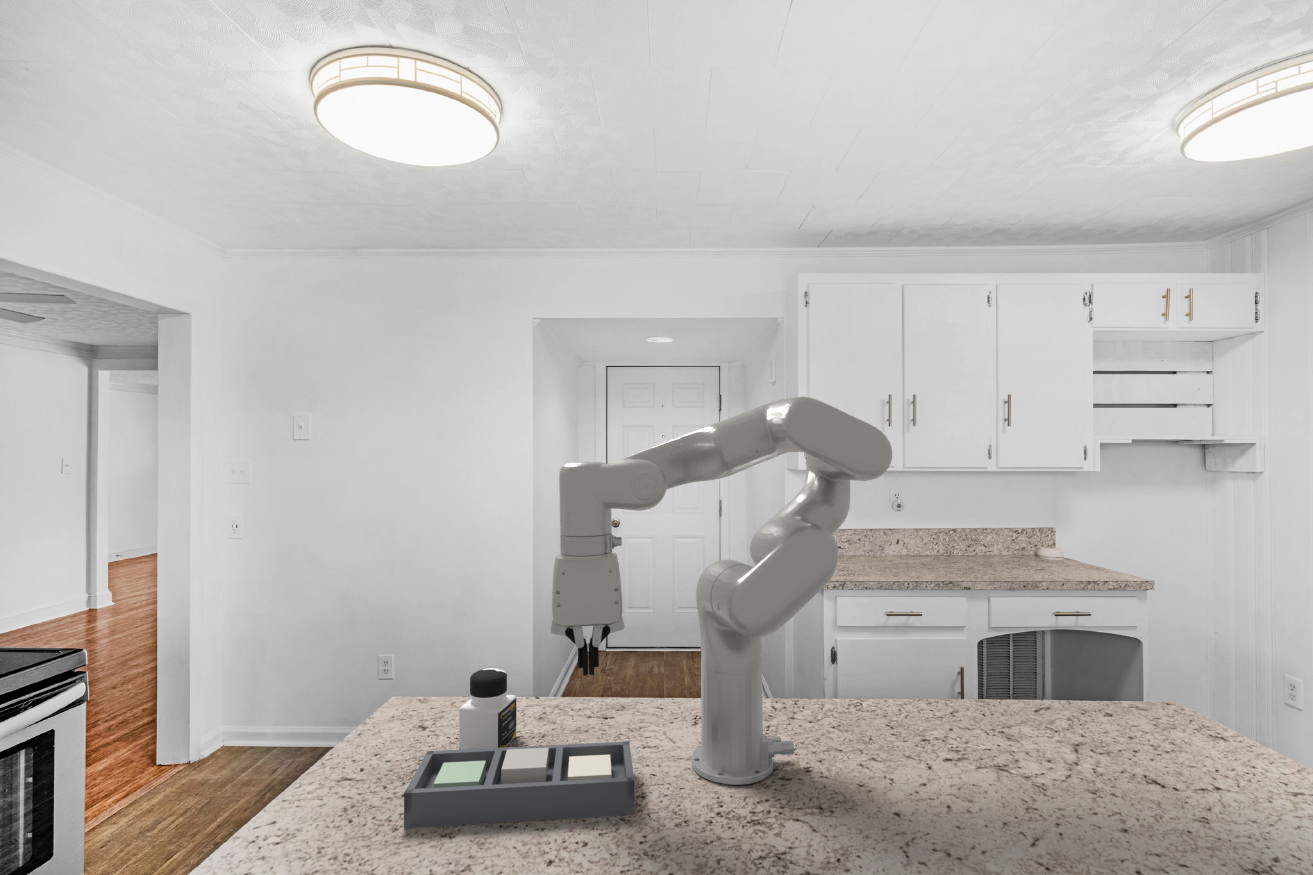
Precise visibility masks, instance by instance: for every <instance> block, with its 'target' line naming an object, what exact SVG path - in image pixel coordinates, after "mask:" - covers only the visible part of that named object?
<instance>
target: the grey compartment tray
mask: <svg viewBox="0 0 1313 875" xmlns="http://www.w3.org/2000/svg"><path fill="white" fill-rule="evenodd" d="M528 748H549V763H548V770H547V777H546V782H533V783H515V784H501V769H502V766H503V762H504V759H505V755H506V752H507V750H508V749H528ZM591 755H610V760H611V778H607V779H589V780H570V781H568V768H569V757H572V756H591ZM467 761H486V776H485V779H484V782H483V785H478V786H459V787H441V788H433V784H434V782H435V780H436V777H437V775H438V773H439V771H440V769H441V767H442V765H443V763H447V762H467ZM633 767H634V766H633V759H632V753H631V744H630V741H613V742H612V741H611V742H589V743H588V742H586V743H570V744H569V743H568V744H566V743H565V744H549V745H548V744H547V745H528V746H527V745H525V746H506V747H504V748H483V749H463V750H459V749H446V750H445V749H444V750H427V751H426V753H425V754H424V756H423V759H422V760H421V762H420V764H419V766H418V767H417V769H416V771H415V773H414V775H413V777H412V778H411V780H410V782H409V783H408V785H407V786H406V789H405V791H404V793H403V829H415V828H416V829H419V828H432V827H434V828H436V827H449V826H450V827H452V826H453V827H454V826H465V825H466V826H467V824H471V825H483V824H484V825H486V824H485V823H487V824H500V823H502V824H503V823H517V822H518V823H519V822H534V821H536V822H537V821H549V820H550V821H552V820H553V821H554V820H569V819H571V820H572V819H583V818H584V819H585V818H597V817H598V818H600V817H601V818H602V817H616V816H617V817H618V816H634V815H635V811H636V810H635V775H634V768H633ZM463 824H465V825H463Z"/></svg>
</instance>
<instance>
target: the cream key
mask: <svg viewBox="0 0 1313 875" xmlns="http://www.w3.org/2000/svg"><path fill="white" fill-rule="evenodd" d="M607 778H611V760H610V755H591V756H572V757H569V768H568V781H570V780H589V779H607Z"/></svg>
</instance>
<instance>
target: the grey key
mask: <svg viewBox="0 0 1313 875" xmlns="http://www.w3.org/2000/svg"><path fill="white" fill-rule="evenodd" d="M548 763H549V748H528V749H508V750H507V752H506V755H505V759H504V762H503V766H502V769H501V784H515V783H533V782H546V777H547V770H548Z"/></svg>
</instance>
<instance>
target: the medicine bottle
mask: <svg viewBox="0 0 1313 875" xmlns="http://www.w3.org/2000/svg"><path fill="white" fill-rule="evenodd" d="M458 709H459V710H458V711H459V712H458V713H459V714H458V715H459V716H458V721H459V723H458V727H459V728H458V731H459V732H458V733H459V734H458V750H463V749H483V748H504V747H508V745H509V744H510V743H511V742H512V741H513V740H514V739H515V738H516V737H517V695H514V694H508V673H507V672H506V671H504V670H503V669H500V668H491V667H490V668H488V667H487V668H483V669H479V670H477V671H475V672H473V673H472V674H471V676H469V700H468V701H466V702H465V703H464V704H463V705H461V706H460V707H459V708H458Z"/></svg>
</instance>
